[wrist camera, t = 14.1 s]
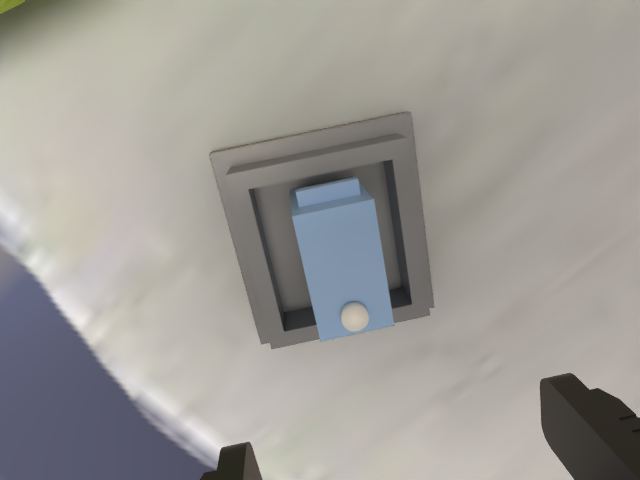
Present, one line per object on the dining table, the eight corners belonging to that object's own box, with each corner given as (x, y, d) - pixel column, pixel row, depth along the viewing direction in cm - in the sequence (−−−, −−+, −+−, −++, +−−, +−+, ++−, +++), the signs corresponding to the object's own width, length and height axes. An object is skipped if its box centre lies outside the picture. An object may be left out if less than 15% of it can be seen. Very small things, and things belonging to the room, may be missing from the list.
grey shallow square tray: (406, 111, 27) (424, 114, 24) (429, 300, 31) (447, 325, 28) (211, 151, 27) (201, 160, 23) (261, 336, 31) (259, 366, 28)
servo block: (352, 163, 27) (373, 185, 20) (374, 290, 29) (399, 344, 23) (286, 177, 27) (288, 203, 20) (315, 303, 29) (324, 360, 23)
